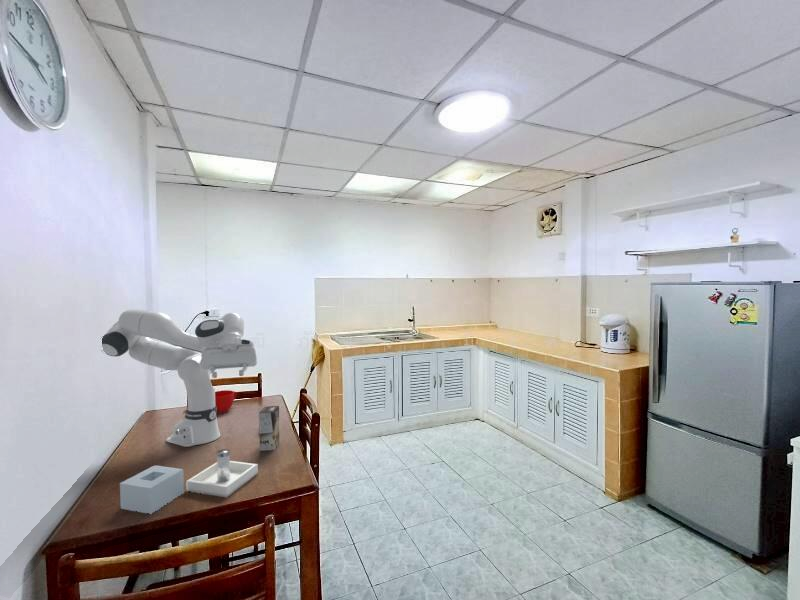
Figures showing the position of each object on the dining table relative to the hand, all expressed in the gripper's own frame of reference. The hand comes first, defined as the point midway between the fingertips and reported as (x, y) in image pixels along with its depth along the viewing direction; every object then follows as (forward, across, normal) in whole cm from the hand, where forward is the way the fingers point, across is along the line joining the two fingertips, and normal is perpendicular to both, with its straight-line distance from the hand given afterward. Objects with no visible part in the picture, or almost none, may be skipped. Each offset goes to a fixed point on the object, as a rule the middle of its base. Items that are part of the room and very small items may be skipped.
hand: (227, 376), depth 142 cm
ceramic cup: (-27, -13, +76) cm, 81 cm away
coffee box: (+15, +14, +34) cm, 40 cm away
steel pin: (+33, 0, +14) cm, 36 cm away
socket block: (+37, -20, +11) cm, 44 cm away
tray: (+34, 0, +15) cm, 37 cm away
